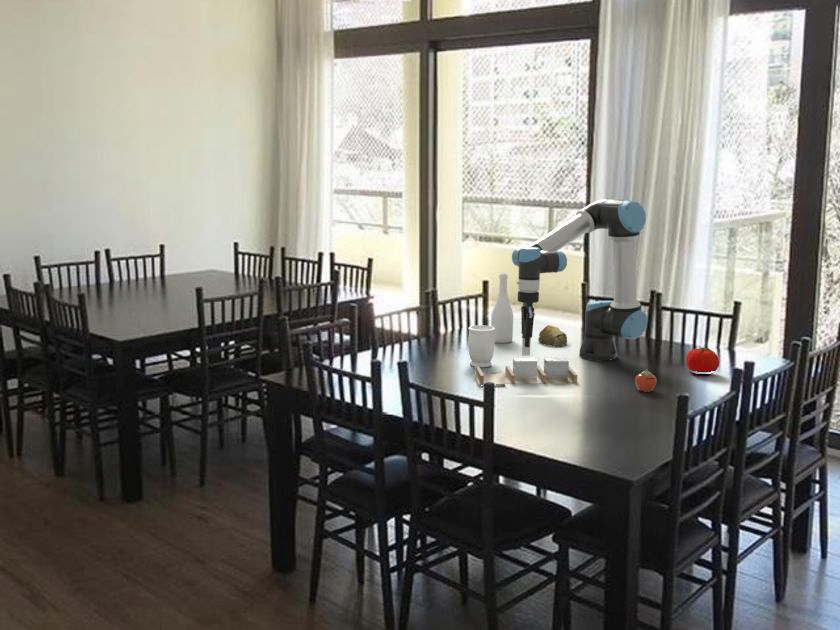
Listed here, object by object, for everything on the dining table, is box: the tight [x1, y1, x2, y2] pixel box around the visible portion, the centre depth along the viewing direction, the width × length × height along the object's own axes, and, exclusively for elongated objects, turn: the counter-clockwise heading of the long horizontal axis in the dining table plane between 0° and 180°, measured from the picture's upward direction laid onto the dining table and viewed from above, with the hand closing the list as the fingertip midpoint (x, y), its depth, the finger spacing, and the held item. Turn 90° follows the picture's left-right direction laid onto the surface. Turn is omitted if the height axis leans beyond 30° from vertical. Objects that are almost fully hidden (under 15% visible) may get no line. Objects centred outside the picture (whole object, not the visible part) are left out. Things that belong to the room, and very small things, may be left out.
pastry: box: [537, 325, 568, 348], centre depth 380 cm, size 14×12×8 cm
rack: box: [473, 365, 579, 388], centre depth 317 cm, size 36×15×4 cm, turn 94°
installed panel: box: [543, 357, 570, 380], centre depth 318 cm, size 8×4×7 cm, turn 94°
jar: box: [467, 324, 496, 368], centre depth 340 cm, size 11×10×15 cm
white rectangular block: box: [512, 357, 538, 380], centre depth 317 cm, size 8×4×7 cm, turn 94°
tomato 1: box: [634, 368, 658, 392], centre depth 307 cm, size 7×7×8 cm
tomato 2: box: [685, 345, 720, 372], centre depth 331 cm, size 11×13×10 cm
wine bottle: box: [490, 272, 514, 344], centre depth 381 cm, size 10×10×30 cm
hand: (525, 355), depth 316 cm, fingers closed
